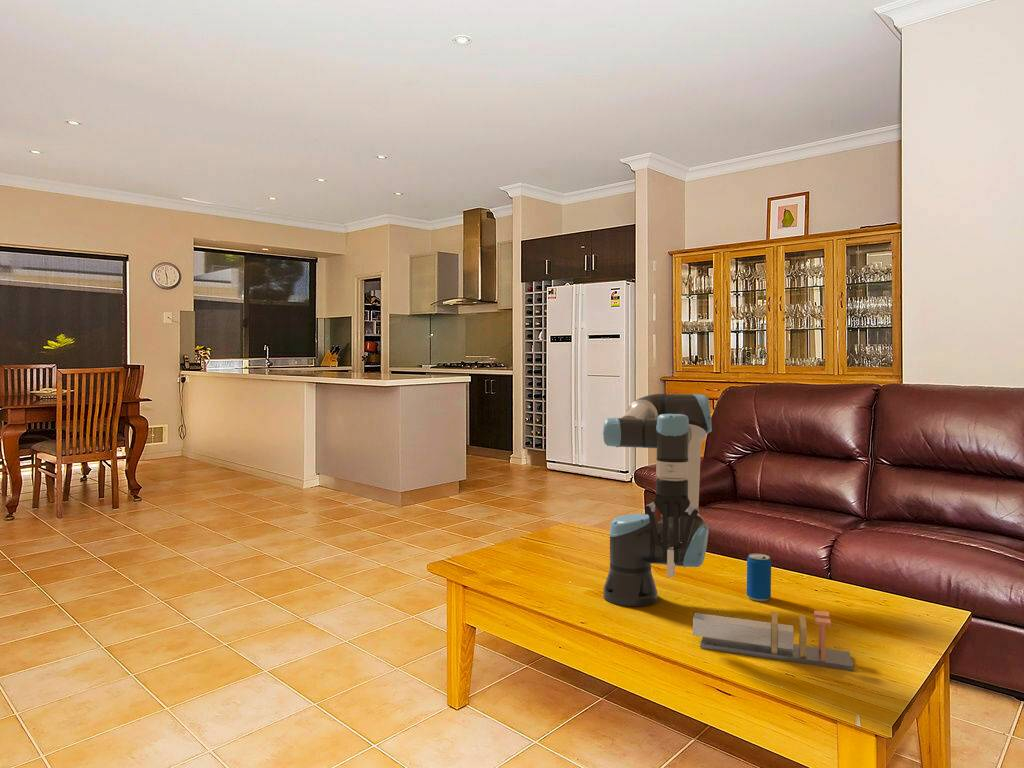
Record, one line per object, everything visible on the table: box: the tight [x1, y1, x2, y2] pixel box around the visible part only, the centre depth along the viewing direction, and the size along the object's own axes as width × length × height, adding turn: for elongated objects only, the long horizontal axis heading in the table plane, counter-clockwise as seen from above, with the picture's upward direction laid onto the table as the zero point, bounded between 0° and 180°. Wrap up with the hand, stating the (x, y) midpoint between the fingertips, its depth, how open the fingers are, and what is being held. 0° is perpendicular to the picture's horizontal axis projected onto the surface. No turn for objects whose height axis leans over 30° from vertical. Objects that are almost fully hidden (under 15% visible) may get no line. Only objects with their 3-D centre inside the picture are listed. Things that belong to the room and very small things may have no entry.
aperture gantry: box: [813, 610, 832, 661], centre depth 152 cm, size 3×7×9 cm, turn 159°
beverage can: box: [746, 553, 772, 602], centre depth 192 cm, size 6×6×12 cm
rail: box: [700, 611, 855, 672], centre depth 156 cm, size 32×8×8 cm, turn 69°
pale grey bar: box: [692, 612, 795, 650], centre depth 158 cm, size 22×4×4 cm, turn 69°
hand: (670, 575), depth 164 cm, fingers closed
